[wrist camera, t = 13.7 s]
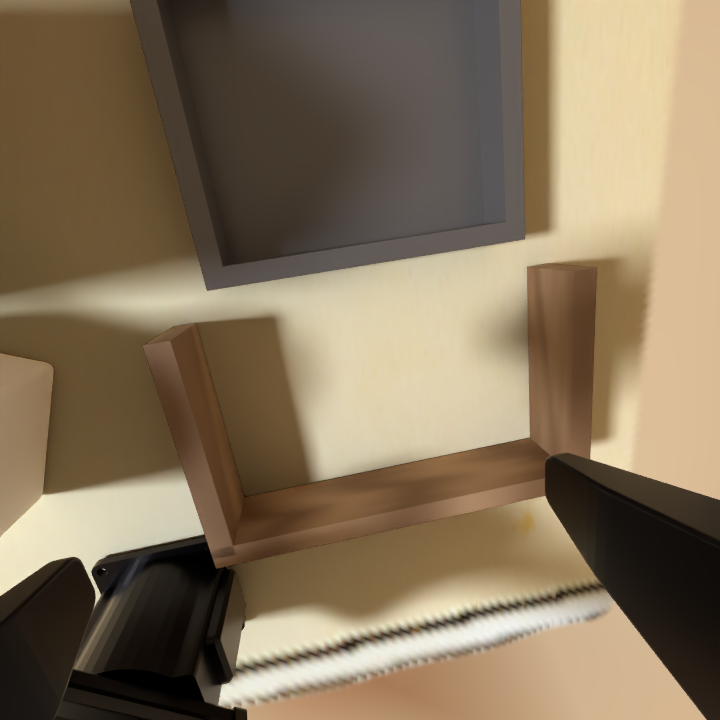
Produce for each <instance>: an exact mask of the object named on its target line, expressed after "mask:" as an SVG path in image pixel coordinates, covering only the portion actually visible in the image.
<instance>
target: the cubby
mask: <svg viewBox="0 0 720 720" xmlns="http://www.w3.org/2000/svg"><path fill="white" fill-rule="evenodd" d="M596 280H597V268H595V267H582V266H569V265H556V264H542V265H536V266H530V267H527V289H528V346H529V403H530V438H528V439H523V440H518V441H513V442H508V443H503V444H499V445H494V446H489V447H484V448H479V449H475V450H470V451H465V452H460V453H455V454H451V455H446V456H441V457H436V458H431V459H426V460H422V461H417V462H412V463H407V464H402V465H398V466H393V467H388V468H383V469H378V470H374V471H369V472H364V473H359V474H354V475H350V476H345V477H340V478H335V479H330V480H325V481H321V482H316V483H311V484H306V485H301V486H297V487H292V488H287V489H282V490H277V491H273V492H268V493H263V494H258V495H253V496H248V497H245V496H244V493H243V489H242V486H241V482H240V479H239V475H238V471H237V468H236V464H235V461H234V457H233V454H232V450H231V447H230V443H229V439H228V436H227V432H226V429H225V425H224V422H223V418H222V415H221V411H220V408H219V404H218V400H217V397H216V393H215V390H214V386H213V383H212V379H211V376H210V372H209V368H208V365H207V361H206V358H205V354H204V351H203V347H202V344H201V340H200V337H199V333H198V329H197V326H196V323H192V324H186V325H180V326H174V327H172V328H170V329H169V330H167V331H165V332H164V333H162V334H160V335H159V336H157V337H156V338H154V339H152V340H151V341H149V342H147V343H146V344H144V345H143V349H144V352H145V355H146V358H147V361H148V364H149V367H150V370H151V373H152V376H153V379H154V382H155V385H156V388H157V391H158V394H159V397H160V400H161V403H162V406H163V409H164V412H165V416H166V419H167V422H168V425H169V428H170V431H171V434H172V437H173V440H174V443H175V446H176V449H177V452H178V455H179V458H180V461H181V464H182V467H183V470H184V473H185V476H186V479H187V482H188V485H189V488H190V491H191V494H192V497H193V500H194V503H195V506H196V510H197V513H198V516H199V519H200V522H201V525H202V528H203V531H204V534H205V537H206V540H207V543H208V546H209V549H210V552H211V555H212V558H213V561H214V564H215V567H216V569H217V568H221V567H226V566H230V565H235V564H239V563H244V562H248V561H253V560H257V559H262V558H266V557H271V556H275V555H280V554H284V553H289V552H293V551H298V550H302V549H307V548H311V547H316V546H321V545H325V544H330V543H334V542H339V541H343V540H348V539H352V538H357V537H361V536H366V535H370V534H375V533H379V532H384V531H388V530H393V529H397V528H402V527H406V526H411V525H415V524H420V523H424V522H429V521H433V520H438V519H442V518H447V517H451V516H456V515H460V514H465V513H469V512H474V511H478V510H483V509H487V508H492V507H496V506H501V505H505V504H510V503H514V502H519V501H523V500H528V499H532V498H537V497H541V496H546V495H545V460H546V458H547V457H548V456H551V455H556V454H560V453H571V454H574V455H577V456H580V457H583V458H587V459H590V448H591V420H592V392H593V364H594V336H595V308H596Z"/></svg>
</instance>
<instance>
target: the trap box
mask: <svg viewBox="0 0 720 720" xmlns="http://www.w3.org/2000/svg"><path fill="white" fill-rule="evenodd" d="M130 3H131V7H132V10H133V14H134V18H135V22H136V25H137V29H138V33H139V37H140V40H141V44H142V48H143V52H144V55H145V59H146V63H147V67H148V71H149V74H150V78H151V82H152V86H153V89H154V93H155V97H156V101H157V104H158V108H159V112H160V116H161V119H162V123H163V127H164V131H165V134H166V138H167V142H168V146H169V150H170V153H171V157H172V161H173V165H174V168H175V172H176V176H177V180H178V183H179V187H180V191H181V195H182V198H183V202H184V206H185V210H186V213H187V217H188V221H189V225H190V229H191V232H192V236H193V240H194V244H195V247H196V251H197V255H198V259H199V262H200V266H201V270H202V274H203V277H204V281H205V285H206V289H207V291H209V290H215V289H221V288H227V287H234V286H240V285H246V284H252V283H258V282H264V281H271V280H277V279H283V278H289V277H295V276H301V275H308V274H314V273H320V272H326V271H332V270H338V269H345V268H351V267H357V266H363V265H369V264H375V263H382V262H388V261H394V260H400V259H406V258H412V257H419V256H425V255H431V254H437V253H443V252H449V251H456V250H462V249H468V248H474V247H480V246H486V245H493V244H499V243H505V242H511V241H517V240H523V239H525V214H524V161H523V108H522V54H521V1H520V0H130Z"/></svg>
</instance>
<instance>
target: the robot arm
mask: <svg viewBox="0 0 720 720" xmlns="http://www.w3.org/2000/svg"><path fill="white" fill-rule="evenodd" d="M545 495H546V498H547V501H548V503H549V504H550V506H551V508H552V509H553V511H554V512H555V514H556V516H557V517H558V519H559V520H560V522H561V523H562V525H563V527H564V528H565V530H566V531H567V533H568V534H569V536H570V538H571V539H572V541H573V542H574V544H575V545H576V547H577V549H578V550H579V552H580V553H581V555H582V556H583V558H584V560H585V561H586V563H587V564H588V566H589V567H590V569H591V570H592V572H593V573H594V574H595V576H596V577H597V579H598V580H599V581H600V583H601V584H602V585H603V587H604V588H605V589H606V590H607V592H608V593H609V594H610V596H611V597H612V598H613V599H614V601H615V602H616V603H617V605H618V606H619V607H620V609H621V610H622V611H623V612H624V614H625V615H626V616H627V618H628V619H629V620H630V621H631V623H632V624H633V625H634V627H635V628H636V629H637V630H638V632H639V633H640V634H641V636H642V637H643V638H644V639H645V641H646V642H647V643H648V645H649V646H650V647H651V649H652V650H653V651H654V652H655V654H656V655H657V656H658V658H659V659H660V660H661V661H662V663H663V664H664V665H665V667H666V668H667V669H668V670H669V672H670V673H671V674H672V676H673V677H674V678H675V680H676V681H677V682H678V683H679V685H680V686H681V687H682V689H683V690H684V691H685V692H686V694H687V695H688V696H689V698H690V699H691V700H692V701H693V703H694V704H695V705H696V706H697V708H698V709H699V710H700V712H701V713H702V714H703V716H704V717H705V718H706V719H707V720H720V500H718V499H714V498H711V497H708V496H705V495H702V494H698V493H695V492H692V491H689V490H686V489H682V488H679V487H676V486H673V485H670V484H667V483H663V482H660V481H657V480H653V479H651V478H647V477H644V476H641V475H638V474H635V473H631V472H628V471H625V470H622V469H619V468H615V467H612V466H609V465H606V464H603V463H599V462H596V461H593V460H590V459H587V458H583V457H580V456H577V455H574V454H571V453H560V454H556V455H551V456H548V457H547V458H546V460H545ZM102 568H103V569H106V570H103V569H102ZM91 572H92V576H93V578H94V580H95V582H96V585H97V587H98V589H99V591H100V593H101V597H100V598H99V600H98V602H97V604H96V605H95V590H94V587H93V585H92V583H91V581H90V579H89V576H88V574H87V572H86V570H85V568H84V565H83V563H82V562H81V560H80V559H78V558H77V557H70V558H65V559H60V560H56V561H52V562H50V563H48V564H46V565H45V566H43V567H42V568H40V569H39V570H38V571H36V572H35V573H33V574H32V575H30V576H29V577H27V578H26V579H25V580H23V581H22V582H20V583H19V584H17V585H16V586H14V587H13V588H12V589H10V590H9V591H7V592H6V593H4V594H3V595H1V596H0V720H247V710H246V709H242V708H238V707H234V708H233V709H231V708H227V707H223V706H219V705H218V702H219V697H220V692H221V686H222V684H226V683H229V682H230V681H231V680H232V678H233V676H234V672H235V666H236V660H237V654H238V648H239V642H240V636H241V631H242V630H243V629H244V627H245V620H246V619H245V615H244V612H245V606H246V604H245V600H244V597H243V594H242V591H241V588H240V584H239V581H238V578H237V575H236V572H235V571H234V570H233V569H230V567H229V566H226V567H221V568H217V569H216V567H215V564H214V561H213V558H212V555H211V552H210V549H209V546H208V543H207V540H206V537H202V538H197V539H193V540H188V541H183V542H179V543H174V544H169V545H165V546H160V547H155V548H151V549H146V550H141V551H137V552H132V553H127V554H123V555H118V556H113V557H109V558H104V559H101V560H99V561H98V562H97V563H96V564H95V566H94V567H93V569H92V571H91ZM94 605H95V607H94ZM93 608H94V609H93Z"/></svg>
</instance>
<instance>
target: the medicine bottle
mask: <svg viewBox="0 0 720 720" xmlns="http://www.w3.org/2000/svg"><path fill="white" fill-rule="evenodd" d="M53 373H54V370H53V367H52V366H51V365H50V364H48V363H46V362H41V361H36V360H31V359H26V358H21V357H16V356H11V355H6V354H1V353H0V536H1V535H2V534H3V533H4V532H5V531H7V530H8V529H9V528H10V527H11V526H12V525H13V524H14V523H15V522H16V521H17V520H18V519H19V518H20V517H21V516H22V515H23V514H24V513H25V512H26V511H27V510H29V509H30V508H31V507H32V506H33V505H34V504H35V503H36V502H37V501H38V500H39V499H40V498H41V496H42V494H43V486H44V475H45V463H46V452H47V441H48V430H49V418H50V407H51V396H52V385H53Z"/></svg>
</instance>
